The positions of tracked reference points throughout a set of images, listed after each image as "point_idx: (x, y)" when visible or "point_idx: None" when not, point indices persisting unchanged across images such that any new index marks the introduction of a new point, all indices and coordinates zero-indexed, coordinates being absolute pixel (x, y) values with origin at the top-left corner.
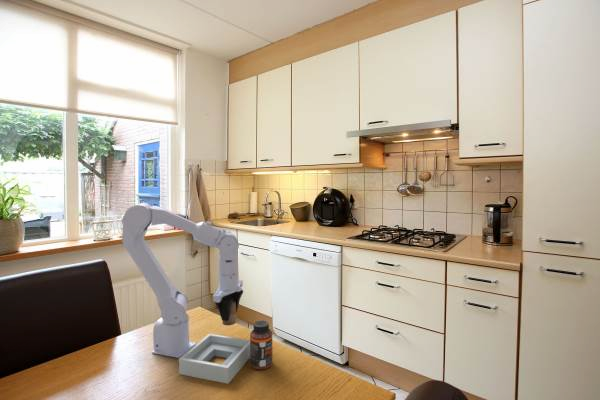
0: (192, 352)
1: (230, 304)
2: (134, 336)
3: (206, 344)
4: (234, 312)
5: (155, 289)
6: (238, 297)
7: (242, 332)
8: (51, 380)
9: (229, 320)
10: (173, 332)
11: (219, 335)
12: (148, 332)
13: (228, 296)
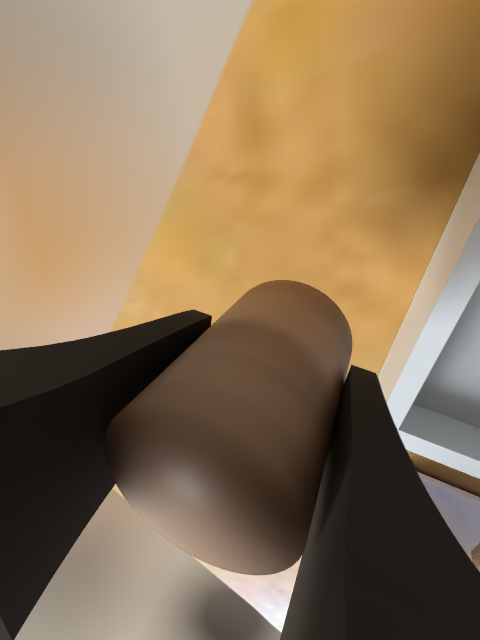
0: None
1: (423, 585)
2: (285, 610)
3: (445, 419)
4: (275, 344)
5: None
6: (22, 408)
7: (195, 226)
8: None
9: (345, 355)
10: None
11: (406, 370)
12: (254, 578)
13: (56, 538)
